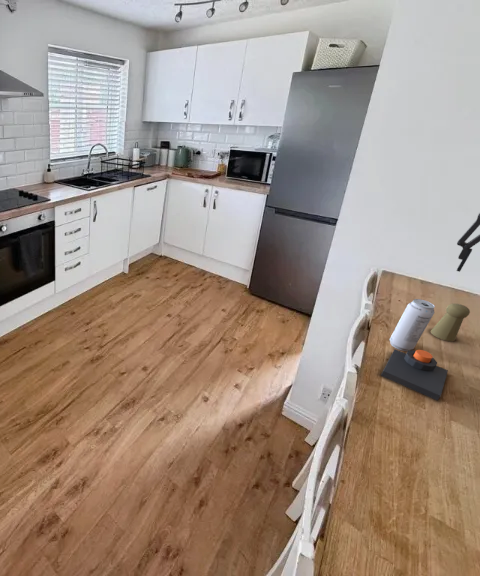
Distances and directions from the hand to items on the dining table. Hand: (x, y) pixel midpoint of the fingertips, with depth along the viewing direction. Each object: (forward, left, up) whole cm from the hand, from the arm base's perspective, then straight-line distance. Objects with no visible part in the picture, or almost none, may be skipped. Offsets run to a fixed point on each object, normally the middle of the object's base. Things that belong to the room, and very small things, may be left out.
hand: (479, 275), depth 106 cm
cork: (0, 0, -22) cm, 22 cm away
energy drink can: (+8, +18, -22) cm, 29 cm away
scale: (+3, +31, -21) cm, 38 cm away
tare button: (+3, +27, -18) cm, 32 cm away
